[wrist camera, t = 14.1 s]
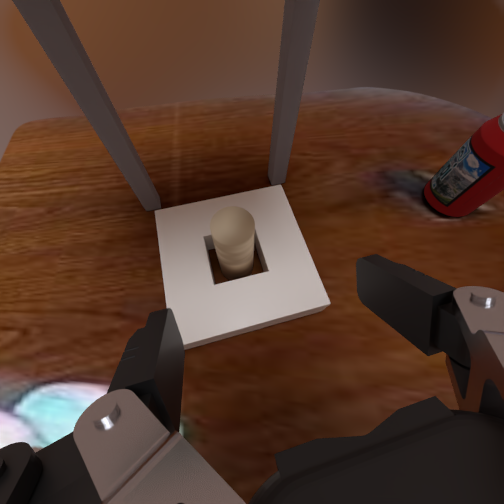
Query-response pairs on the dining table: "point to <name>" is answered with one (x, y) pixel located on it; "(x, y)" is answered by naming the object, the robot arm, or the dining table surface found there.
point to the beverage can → (470, 172)
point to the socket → (244, 289)
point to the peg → (234, 241)
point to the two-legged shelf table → (106, 118)
